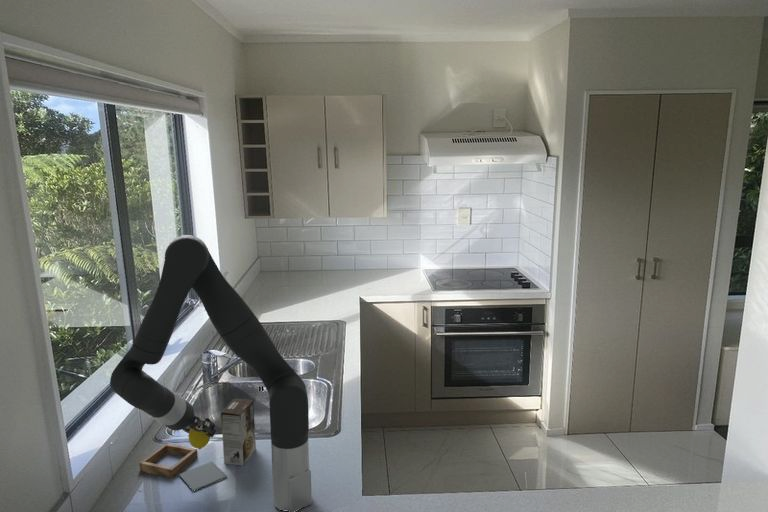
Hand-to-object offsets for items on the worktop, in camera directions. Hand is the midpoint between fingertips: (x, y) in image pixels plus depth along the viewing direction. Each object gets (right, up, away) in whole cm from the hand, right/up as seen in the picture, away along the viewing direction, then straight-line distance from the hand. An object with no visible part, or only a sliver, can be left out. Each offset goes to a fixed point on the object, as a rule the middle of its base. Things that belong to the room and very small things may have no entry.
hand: (203, 431), depth 148 cm
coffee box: (+7, -11, +11) cm, 17 cm away
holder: (-12, -12, +7) cm, 18 cm away
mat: (0, -13, +1) cm, 13 cm away
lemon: (-1, -5, -1) cm, 5 cm away
